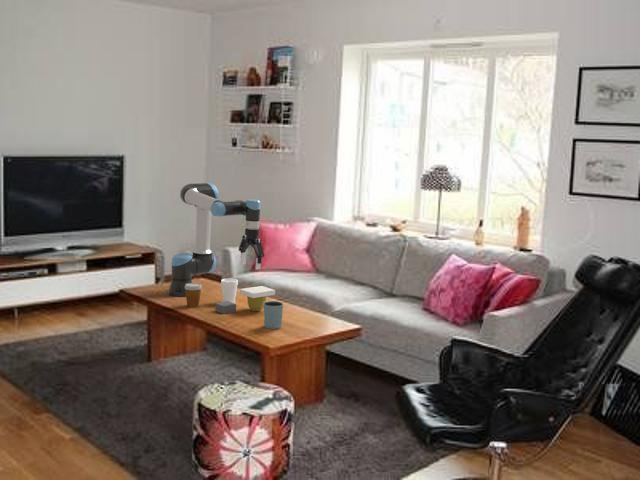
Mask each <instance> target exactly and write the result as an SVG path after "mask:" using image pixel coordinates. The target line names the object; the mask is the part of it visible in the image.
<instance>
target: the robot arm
mask: <svg viewBox="0 0 640 480" xmlns="http://www.w3.org/2000/svg"><path fill="white" fill-rule="evenodd" d="M179 196H180V199H181V201H182V202H183V203H185V204H187V205H188V206H194V207H195V209H196V219H195V220H196V221H195V223H196V224H195V245H194V246H195V248H194V250H192V253H191V252H186V253H185V252H182V253H177V254H174V255H173V256H172V258H171V263H170V264H171V281H170V284H169V287H168V291H167V292H168V295H169V296H172V297H186V291H185V288H184V287H185V285H186V284H188V283H193V278H192V277H193V276H195V275H196V276H197V275H203V274H204V275H206V274H210V273H212V272H213V271H214V270H215V268H216V266H217V259H216V256H215V254H213V250H211V228H212V216H214V217H227V216H245V229H244V235H242V236H241V241H240V243H239V246H238V251H239V253H240V265H242V266H243V265H246V264H247V250H248V248H249V247H250V246H251V247H252V248H253V250H254V252H255V255H256V258H255V270H261V269H262V268H261V266H262V258H264V257H265V253H264V248H263V245H262V239H261V238H258V236H260V216H261V201H260V200H259V199H252V198H251V199H249V198H248V199H246V201H244V200H242V199H241V200H240V199H239V200H238V199H237V200H233V201H223V200H221V199H219V197H220V195H219V190H218V188H217V187H216V185H215V184H213V183H208V182H201V183H187V184H186V185H184V186H182V188H181V190H180V192H179Z"/></svg>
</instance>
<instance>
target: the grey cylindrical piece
mask: <svg viewBox="0 0 640 480" xmlns="http://www.w3.org/2000/svg"><path fill="white" fill-rule="evenodd" d="M283 308H284V303H283V302H281V301H276V300H275V301H273V300H271V301H265V303H263V308H262V309H263V319H264V321H263V322H264V323H263V325H264V327H265V328H266V329H269V330H279V329H281V328H282V323H283V320H282V319H283V314H284V313H283V312H284V311H283V310H284V309H283Z"/></svg>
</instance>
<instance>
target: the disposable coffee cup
mask: <svg viewBox="0 0 640 480" xmlns="http://www.w3.org/2000/svg"><path fill="white" fill-rule="evenodd" d="M184 288H185V291H186V296H185V297H186V298H185V299H186V307H188V308H198V307H200V301H201V300H200V299H201V293H202V288H203V286H202V284H201V283H198V282H196V283H195V282H192V283H188V284H186V285H185V287H184Z"/></svg>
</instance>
